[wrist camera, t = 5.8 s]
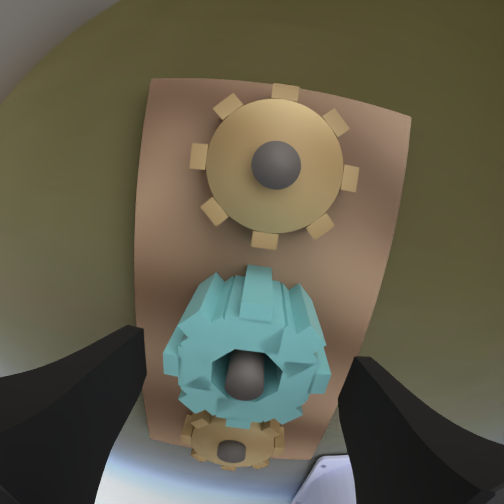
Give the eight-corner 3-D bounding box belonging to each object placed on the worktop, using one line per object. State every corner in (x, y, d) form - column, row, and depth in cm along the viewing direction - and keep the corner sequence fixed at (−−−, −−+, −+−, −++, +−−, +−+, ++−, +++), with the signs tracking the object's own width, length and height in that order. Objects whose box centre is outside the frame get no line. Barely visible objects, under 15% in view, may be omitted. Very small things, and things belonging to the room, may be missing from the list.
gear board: (308, 445, 16) (315, 505, 11) (155, 425, 16) (133, 481, 11) (398, 120, 10) (464, 103, 6) (161, 85, 10) (106, 48, 6)
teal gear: (301, 382, 13) (308, 433, 9) (185, 366, 13) (166, 415, 9) (329, 274, 11) (351, 314, 8) (188, 256, 11) (161, 289, 8)
